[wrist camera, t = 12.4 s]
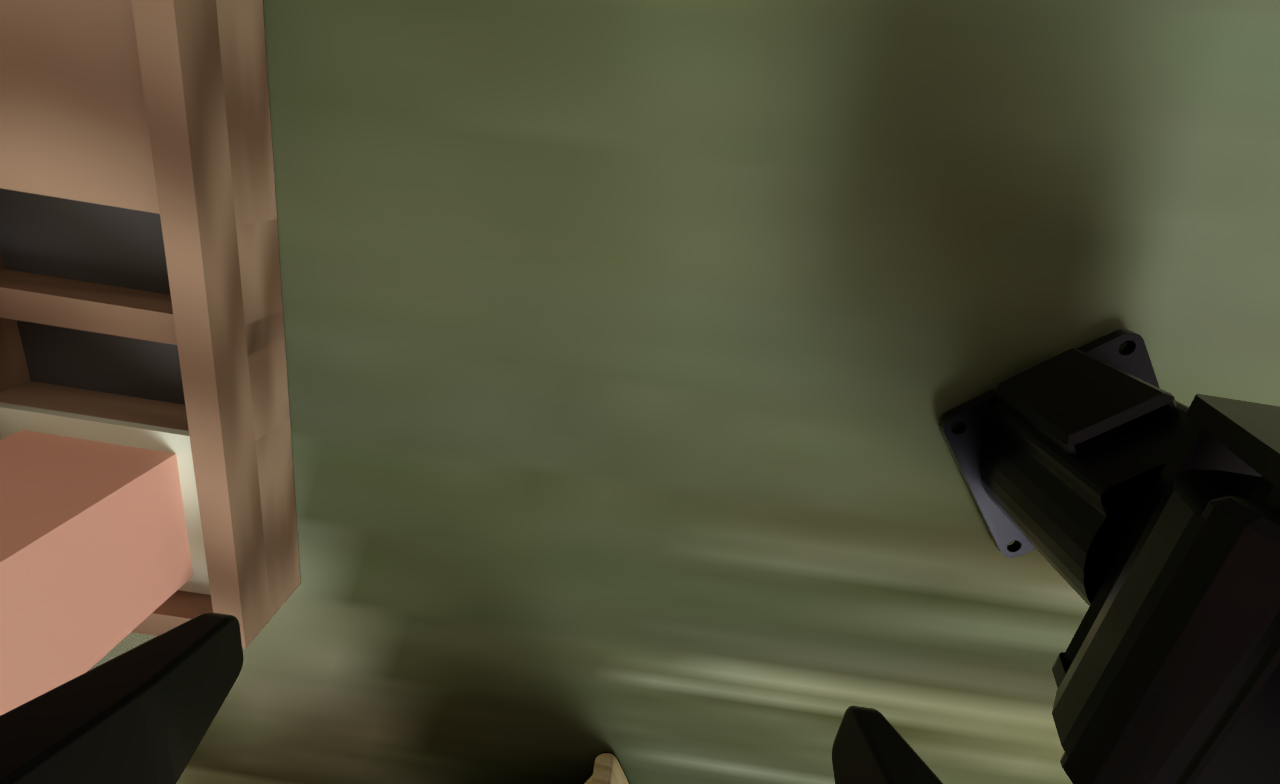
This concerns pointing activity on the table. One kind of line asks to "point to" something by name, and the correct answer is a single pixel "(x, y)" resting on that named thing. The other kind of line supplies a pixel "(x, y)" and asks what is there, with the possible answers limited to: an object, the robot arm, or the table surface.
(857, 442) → the table surface
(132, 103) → the box
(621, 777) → the toy sofa
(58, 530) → the coral block
